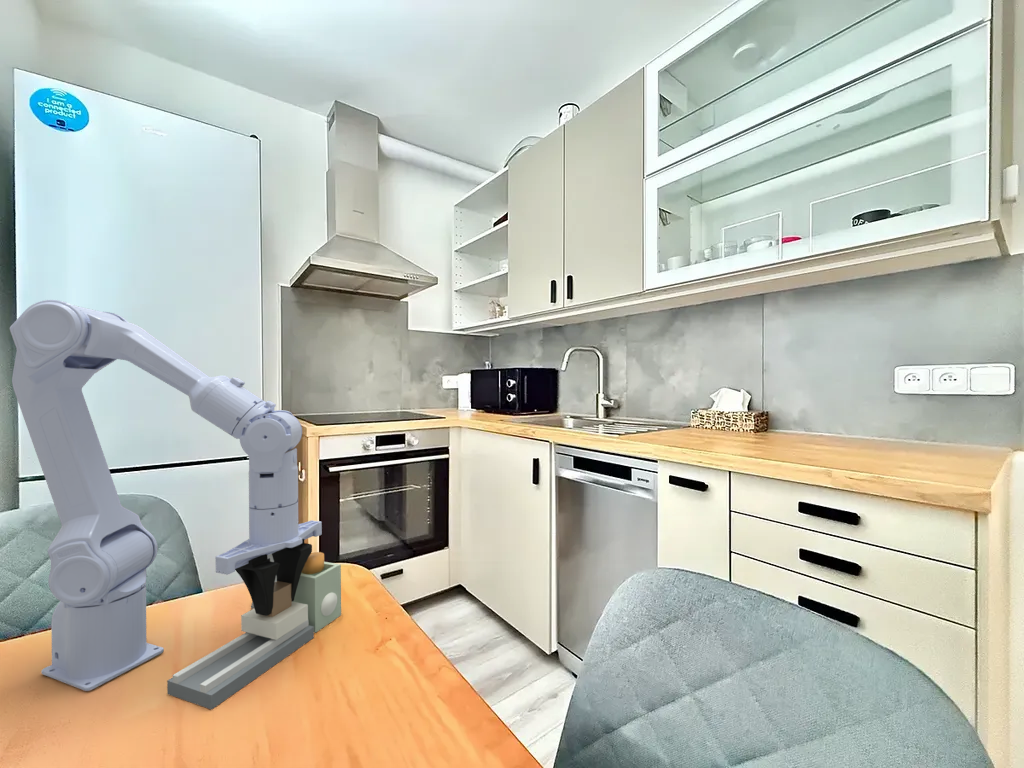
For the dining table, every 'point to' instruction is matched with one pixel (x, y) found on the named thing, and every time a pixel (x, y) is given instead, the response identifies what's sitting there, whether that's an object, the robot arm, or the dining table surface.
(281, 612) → the carriage
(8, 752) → the dining table surface
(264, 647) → the rail track
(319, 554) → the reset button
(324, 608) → the cabinet
